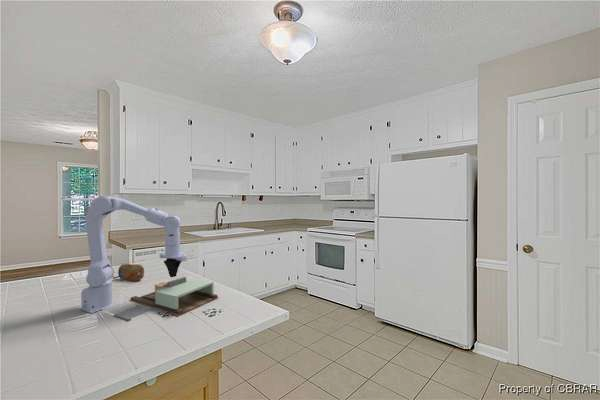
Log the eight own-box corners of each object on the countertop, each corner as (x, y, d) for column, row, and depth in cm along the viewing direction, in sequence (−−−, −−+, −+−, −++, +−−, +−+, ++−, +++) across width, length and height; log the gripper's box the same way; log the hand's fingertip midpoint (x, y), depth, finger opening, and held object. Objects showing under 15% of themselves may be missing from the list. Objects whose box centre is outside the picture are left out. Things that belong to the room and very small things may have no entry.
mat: (128, 321, 97) (128, 319, 97) (113, 315, 101) (113, 314, 101) (152, 311, 105) (152, 309, 105) (138, 307, 109) (138, 305, 109)
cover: (176, 309, 102) (175, 291, 102) (155, 303, 108) (155, 286, 107) (213, 293, 118) (213, 277, 118) (193, 289, 124) (193, 273, 124)
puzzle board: (177, 316, 100) (177, 312, 100) (129, 301, 115) (129, 298, 115) (218, 298, 118) (218, 294, 118) (171, 287, 132) (171, 284, 132)
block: (160, 297, 117) (160, 286, 117) (154, 296, 119) (154, 284, 119) (169, 294, 121) (169, 283, 121) (163, 293, 123) (163, 281, 123)
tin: (117, 279, 145) (117, 263, 145) (123, 278, 148) (122, 262, 148) (140, 282, 140) (140, 265, 140) (145, 280, 143) (145, 264, 143)
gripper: (192, 244, 116) (192, 276, 116) (169, 241, 123) (170, 271, 123) (177, 247, 110) (178, 281, 110) (154, 244, 117) (155, 276, 117)
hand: (173, 276), depth 116 cm, fingers closed
